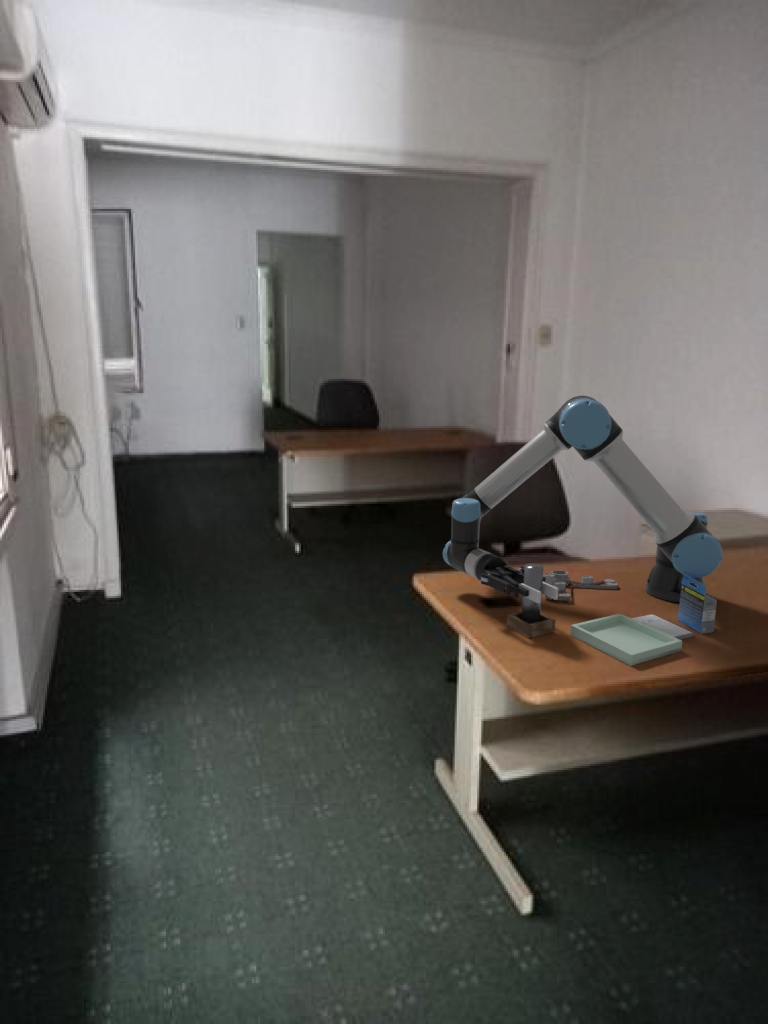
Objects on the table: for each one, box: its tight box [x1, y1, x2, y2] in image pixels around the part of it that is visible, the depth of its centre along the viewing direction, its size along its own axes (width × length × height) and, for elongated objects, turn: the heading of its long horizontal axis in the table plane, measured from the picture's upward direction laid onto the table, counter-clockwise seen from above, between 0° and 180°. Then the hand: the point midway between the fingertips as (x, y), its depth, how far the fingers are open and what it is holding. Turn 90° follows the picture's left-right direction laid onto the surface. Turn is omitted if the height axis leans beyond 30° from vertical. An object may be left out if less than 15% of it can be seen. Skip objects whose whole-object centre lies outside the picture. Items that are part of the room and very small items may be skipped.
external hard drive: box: [631, 614, 694, 640], centre depth 167 cm, size 2×8×12 cm
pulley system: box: [543, 570, 619, 601], centre depth 195 cm, size 27×5×15 cm
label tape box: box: [677, 574, 718, 634], centre depth 168 cm, size 9×4×12 cm, turn 14°
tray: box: [569, 612, 683, 667], centre depth 159 cm, size 16×18×2 cm
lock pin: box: [521, 563, 545, 624], centre depth 164 cm, size 4×4×14 cm
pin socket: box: [506, 610, 556, 639], centre depth 166 cm, size 8×8×3 cm
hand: (548, 595), depth 159 cm, fingers closed on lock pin, 4 cm apart
